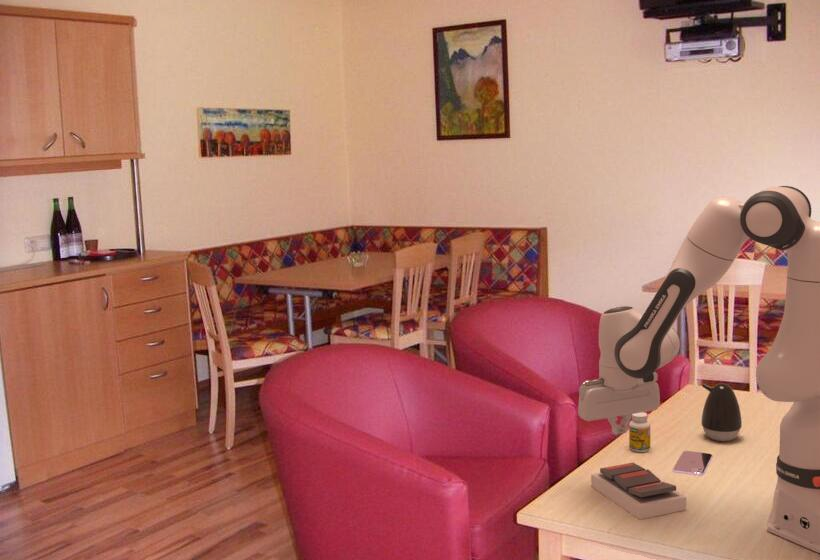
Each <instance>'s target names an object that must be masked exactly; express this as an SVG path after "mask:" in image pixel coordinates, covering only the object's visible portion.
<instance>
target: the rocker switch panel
mask: <svg viewBox="0 0 820 560" xmlns="http://www.w3.org/2000/svg"><path fill="white" fill-rule="evenodd" d="M590 483H591V485H590V486H591V487H592V488H593V489H594V490H596V491H598V492H599V493H600V494H602V495H603V496H605V497H607V499H609V500H610V501H612V502H614V503H615V504H616V505H618V506H620V507H621V508H622V509H623V510H626V512H627V513H629V514H631V515H632V516H634V518H637V519H638V520H644V519H648V518H653V517H658V516H662V515H667V514H673V513H677V512H683V511H686V510H687V496H685V495H683V493H680V492H679V491H677V490H676V491H671V492H666V493H661V494H656V495H650V496H645V497H640V496H637V495H634V494H631V493H629V490H628V491H626V490H625V489H624V488H623V487H621V486H620V485H619V484H618V483H617V482H616V481H615V480H614V479H610V478H609V477H607V476H605V475H603V474H602V473H600V472H595V473H592V474H591V475H590Z"/></svg>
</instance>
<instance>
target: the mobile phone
mask: <svg viewBox="0 0 820 560" xmlns="http://www.w3.org/2000/svg"><path fill="white" fill-rule="evenodd" d="M713 457H714V455H712V453H708V452H707V453H706V452H702V451H701V452H699V451H692V450H691V451H690V450H684V451H682V452H681V454H680V456H679V458H678V460H676V463H675V464H674V465H673V468H672V469H671V471H672V472H673V473H676V474H683V475H691V476H696V475H698V477H703V476H705V474H706V472H707V470H708V468H709V466H710V463H711V462H712V460H713Z"/></svg>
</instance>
